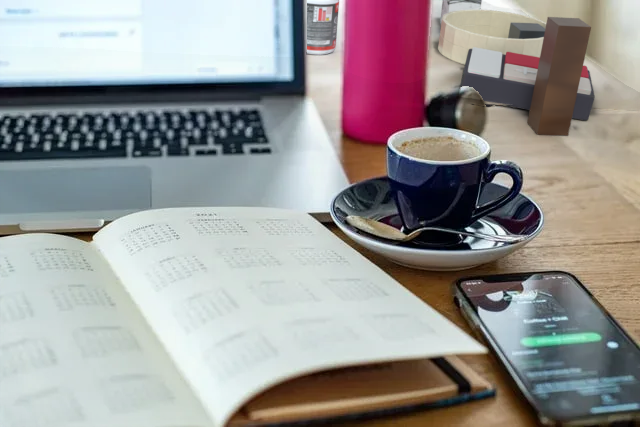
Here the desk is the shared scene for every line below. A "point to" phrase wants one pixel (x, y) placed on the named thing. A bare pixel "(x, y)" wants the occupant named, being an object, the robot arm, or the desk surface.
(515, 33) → the slate block
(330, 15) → the pill bottle
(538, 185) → the desk surface
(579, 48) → the brown tall block
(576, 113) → the grey switch panel
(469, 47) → the bowl
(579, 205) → the desk surface
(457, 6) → the ink box
